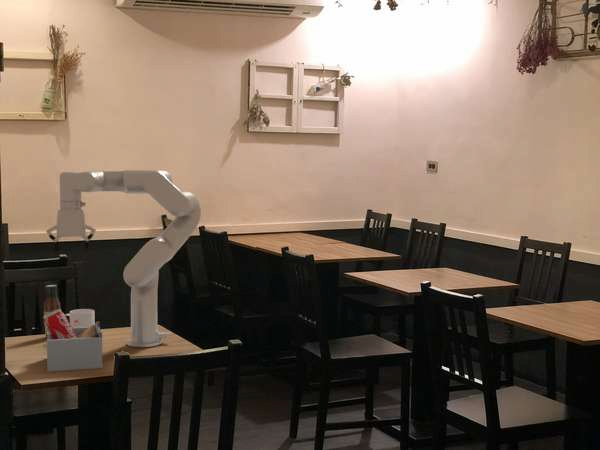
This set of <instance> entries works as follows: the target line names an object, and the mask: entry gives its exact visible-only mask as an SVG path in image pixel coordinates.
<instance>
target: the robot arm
mask: <svg viewBox="0 0 600 450" xmlns="http://www.w3.org/2000/svg"><path fill="white" fill-rule="evenodd" d="M82 192H84V193H96V192H120V193H125V194H134V195H135V194H146V195H150V196H151V198H153V200H155V201H156V202H157V204H159V205H160V206H161V207H162V208H163V209H164V210H166V211H167V212H168V213H169V214H170V215H171V216H173V217H174V219H173V220H171V222H169V224H168V225H167V227H166V228H165V229H164V230H163V231H162V232H161V233H160V234H159V235H158V236H157V237H155V238H152V239H150V240H149V241H148V242H146V243H145V244H144V245H142V247H141V248H140V249H139V250H138V251H137V253H136V254H135V255H134V256H133V258H131V260H130V261H129V262H128V263H127V264H126V265H125V267H124V270H123V274H122V276H123V280H124V282H125V283H126V285H128V286H129V287H131V288H130V289H131V291H130V339H127V340H126V345H127V346H128V347H132V348H133V347H134V348H152V347H156V346H160V345H161V344H162V343H163V340H162V339H171V335H172V334H171V332H166V331H165V332H163V331H162V332H160V331H159V329H158V289H159V288H158V285H159V275H160V274H159V273H160V271H159V270H161V268H162V267H163V266H164V265H165V264H166V263H168V262H169V261H171V260H172V259H173V257H174V256H175V255H176V254H177V252H179V250H180V249H181V248H182V246H183V245H185V243H186V241H188V240H189V238H190V237H191V235H192V234H193V233H194V232H195V231H196V229H197V227H198V226H199V224H200V221H201V215H202V210H201V209H202V208H201V204H200V202H199V200H198V198H197V196H195V194H194V193H192V192H189V191H181V190H180V189H179V188H178V187H177V186H175V185H174V183H173V179H172V175H171V174H170V173H169V172H168V171H166V170H164V169H163V170H162V169H126V170H121V171H119V170H118V171H117V170H115V171H113V170H112V171H110V170H106V171H104V170H102V171H101V170H94V171H93V170H91V171H82V172H81V171H80V172H79V171H62V172H61V173H60V174H59V209H57V212H56V213H57V214H56V224H55V225H54V226H52V227H50V228H48V229H46V234H47V235H48V237H49V238H50V239H51V240H52V242H54V251H56V253H57V254H59V253H60V244H59V242H60V241H59V240H60V239H61V238H74V237H80V238H83V240H84V241H83V253H87V251H89V241H90V240H91V239H92V238H93V237H94V235H95V233H96V232H97V231H96V230H97V229H96V228H94V227H92V226H91V225H90V226H89V225H88V224H86V215H85V210H84V209H83V208H82V207H86V202H84V201H82ZM55 230H56V234H57V235H56V236H54V235H53V233H52V232H54V231H55ZM86 231H90V233H89V235H86Z"/></svg>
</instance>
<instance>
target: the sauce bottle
mask: <svg viewBox="0 0 600 450" xmlns="http://www.w3.org/2000/svg"><path fill="white" fill-rule="evenodd" d="M57 289H58V287H57V284H48V285H45V291H46V292H45V293H46V294H45V295H46V298H45V299H44V302H43V317H44V316H45V315H46V314H48V313H50V312H52V311H54V310H56V309H60V311H61V312H62V308H61V302H60V299H59V297H58V295H57V294H58V293H57ZM44 332H45V337H46V338H47V329H46V327H45V326H44Z"/></svg>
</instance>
